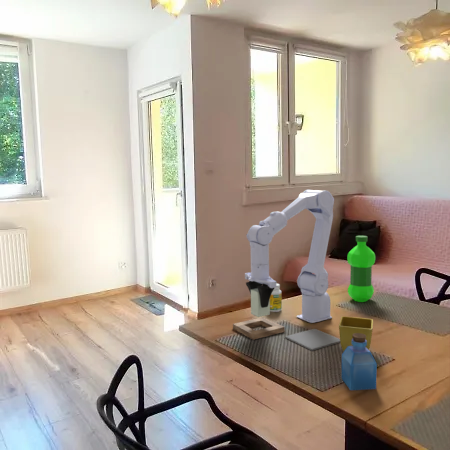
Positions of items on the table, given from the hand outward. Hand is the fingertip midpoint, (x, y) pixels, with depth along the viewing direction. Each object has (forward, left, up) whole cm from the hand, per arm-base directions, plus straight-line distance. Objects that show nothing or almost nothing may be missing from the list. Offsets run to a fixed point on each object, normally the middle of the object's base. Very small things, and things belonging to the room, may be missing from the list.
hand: (260, 305), depth 146 cm
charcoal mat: (-9, +15, -8) cm, 19 cm away
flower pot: (-12, +29, -9) cm, 33 cm away
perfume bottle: (+1, +42, -9) cm, 43 cm away
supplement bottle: (-17, -15, -9) cm, 24 cm away
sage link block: (0, 0, -3) cm, 3 cm away
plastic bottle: (-52, -6, -9) cm, 53 cm away
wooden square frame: (0, -1, -8) cm, 8 cm away
